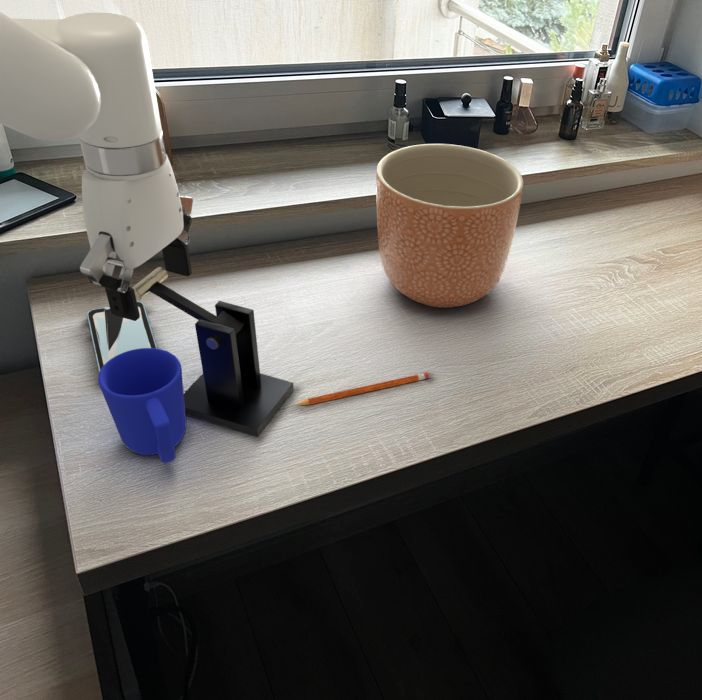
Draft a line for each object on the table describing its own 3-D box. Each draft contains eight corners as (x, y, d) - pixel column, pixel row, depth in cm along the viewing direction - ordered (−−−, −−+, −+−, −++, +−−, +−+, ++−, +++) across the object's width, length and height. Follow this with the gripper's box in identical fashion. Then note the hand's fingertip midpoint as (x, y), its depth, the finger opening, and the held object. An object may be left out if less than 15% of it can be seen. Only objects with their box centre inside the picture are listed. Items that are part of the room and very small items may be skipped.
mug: (136, 498, 76) (117, 431, 70) (109, 426, 84) (89, 360, 77) (214, 470, 80) (202, 404, 74) (181, 404, 88) (168, 339, 81)
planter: (364, 254, 118) (366, 143, 107) (485, 248, 124) (500, 142, 112) (385, 330, 103) (390, 210, 91) (523, 320, 108) (544, 205, 97)
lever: (127, 298, 80) (129, 283, 79) (154, 276, 84) (158, 261, 83) (222, 355, 81) (227, 341, 80) (246, 330, 85) (251, 316, 83)
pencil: (429, 379, 96) (429, 375, 95) (295, 409, 89) (295, 404, 88) (427, 375, 96) (427, 371, 96) (293, 404, 89) (293, 400, 89)
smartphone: (99, 379, 88) (85, 310, 98) (101, 385, 89) (86, 315, 99) (163, 365, 91) (143, 299, 101) (164, 371, 92) (144, 305, 102)
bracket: (174, 411, 86) (156, 326, 79) (216, 367, 93) (203, 284, 85) (257, 436, 85) (248, 352, 77) (293, 389, 92) (288, 307, 84)
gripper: (146, 115, 79) (170, 250, 90) (26, 176, 66) (71, 327, 76) (207, 129, 78) (224, 265, 88) (98, 194, 64) (134, 345, 75)
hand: (153, 293), depth 82 cm, fingers open, 9 cm apart
